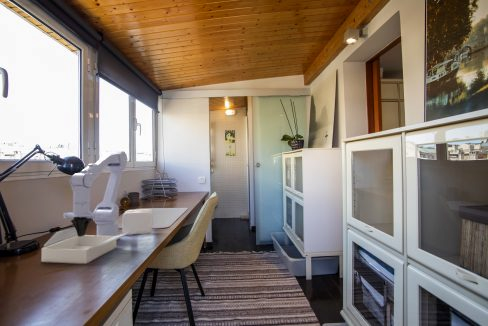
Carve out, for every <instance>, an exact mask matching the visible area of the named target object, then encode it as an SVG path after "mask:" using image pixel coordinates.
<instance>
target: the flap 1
mask: <svg viewBox="0 0 488 326" xmlns="http://www.w3.org/2000/svg"><path fill="white" fill-rule="evenodd" d="M74 236H77V231H76V229H75V226H72V227H69V228H65V229H63V230H59V231H56V232H54V234H53V235H52V236H51V237H50V238H49V239H48V240H47V242H45V243H44V244H43V247H47V246H50V245H52V244H55V243H58V242H60V241H63V240H66V239H69V238H71V237H74Z"/></svg>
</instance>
